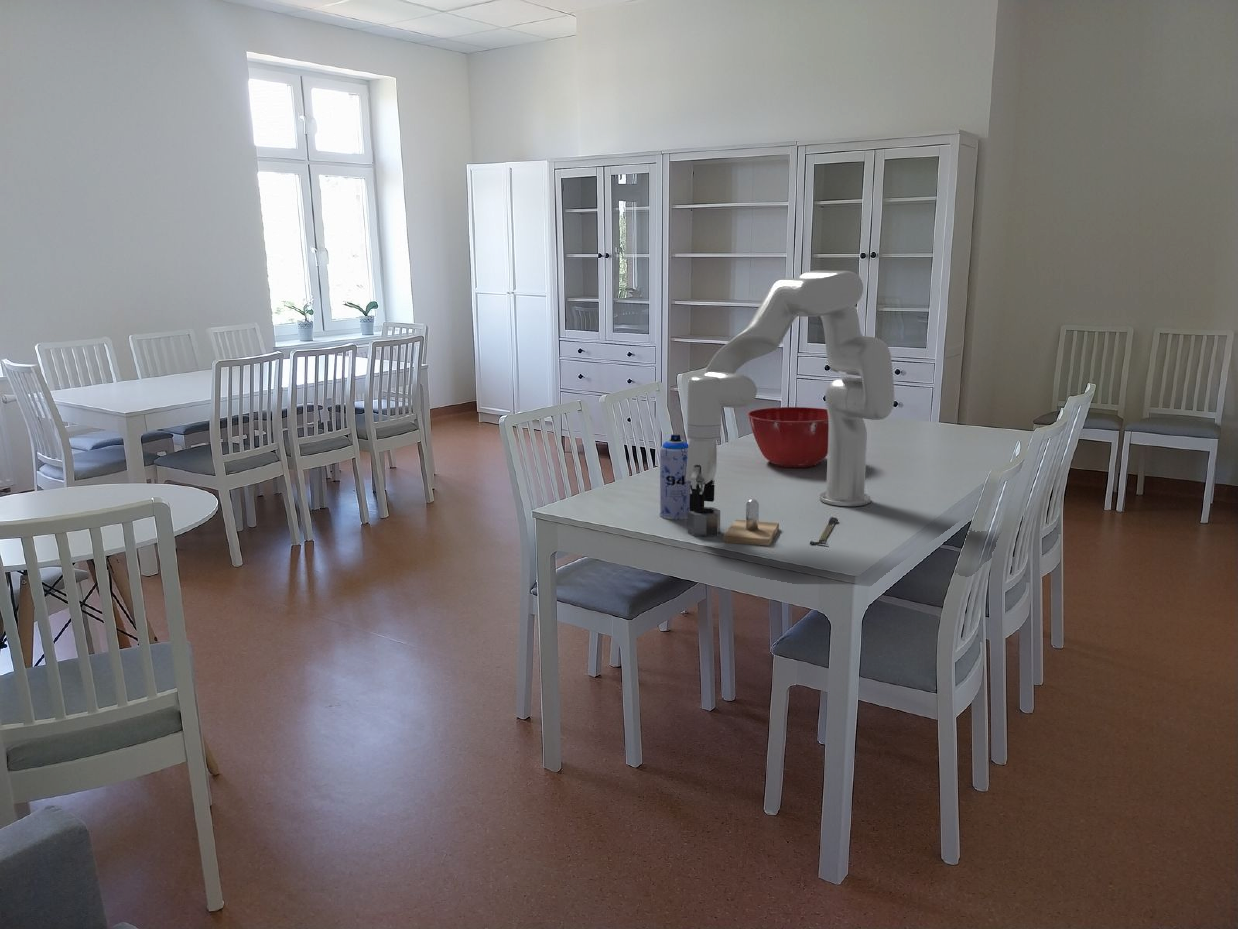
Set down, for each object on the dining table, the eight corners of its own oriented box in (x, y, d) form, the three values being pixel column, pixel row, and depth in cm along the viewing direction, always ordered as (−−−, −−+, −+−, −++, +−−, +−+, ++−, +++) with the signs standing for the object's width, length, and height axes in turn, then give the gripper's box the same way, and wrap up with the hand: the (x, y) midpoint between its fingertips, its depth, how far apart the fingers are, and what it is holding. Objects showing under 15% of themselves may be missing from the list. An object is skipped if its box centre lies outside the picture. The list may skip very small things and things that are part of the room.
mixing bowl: (731, 457, 286) (732, 409, 283) (811, 450, 295) (813, 403, 291) (773, 477, 260) (774, 423, 257) (860, 468, 269) (862, 417, 265)
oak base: (735, 525, 213) (736, 519, 213) (778, 529, 210) (778, 523, 209) (723, 541, 201) (723, 535, 201) (769, 545, 198) (769, 539, 197)
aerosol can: (659, 519, 219) (659, 437, 215) (659, 510, 227) (659, 431, 222) (692, 519, 219) (692, 437, 214) (691, 510, 226) (691, 431, 222)
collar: (692, 526, 213) (692, 505, 212) (722, 529, 211) (722, 508, 209) (684, 535, 206) (684, 513, 205) (715, 537, 204) (715, 516, 203)
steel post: (747, 526, 207) (747, 497, 205) (759, 527, 206) (759, 498, 204) (744, 530, 204) (745, 500, 203) (757, 531, 203) (757, 501, 202)
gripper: (697, 424, 212) (695, 496, 216) (677, 437, 196) (675, 513, 200) (728, 426, 210) (726, 498, 214) (711, 439, 194) (709, 516, 198)
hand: (702, 505), depth 207 cm, fingers open, 9 cm apart
